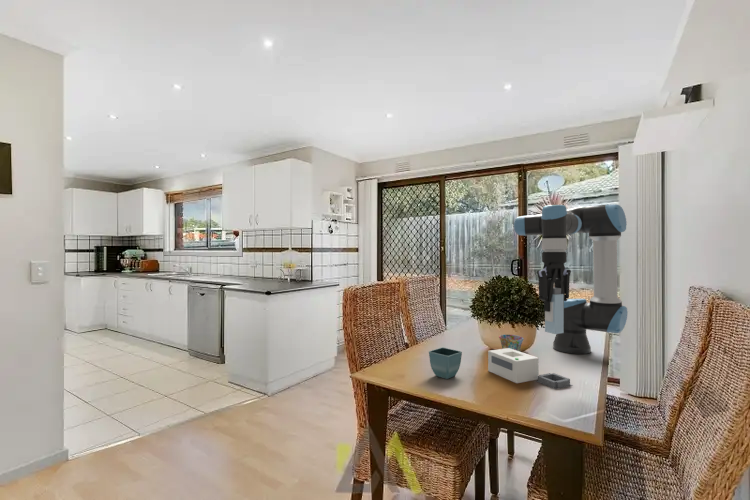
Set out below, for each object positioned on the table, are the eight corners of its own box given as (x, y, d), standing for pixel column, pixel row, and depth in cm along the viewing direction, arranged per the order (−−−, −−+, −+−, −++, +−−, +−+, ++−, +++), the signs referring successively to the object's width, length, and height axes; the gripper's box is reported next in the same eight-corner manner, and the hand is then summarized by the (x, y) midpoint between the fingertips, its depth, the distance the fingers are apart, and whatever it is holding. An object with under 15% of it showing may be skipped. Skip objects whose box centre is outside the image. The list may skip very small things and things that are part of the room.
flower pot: (442, 370, 139) (442, 346, 139) (462, 376, 133) (462, 351, 133) (428, 376, 133) (428, 351, 133) (448, 382, 126) (448, 356, 126)
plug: (553, 330, 127) (553, 287, 127) (563, 332, 123) (563, 288, 123) (544, 331, 125) (544, 287, 125) (554, 334, 122) (554, 288, 121)
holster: (552, 379, 129) (552, 372, 129) (572, 387, 122) (572, 379, 122) (535, 382, 126) (535, 375, 126) (555, 390, 119) (555, 383, 119)
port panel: (508, 368, 141) (508, 346, 141) (538, 380, 128) (538, 356, 128) (487, 372, 137) (487, 349, 137) (516, 385, 124) (516, 360, 124)
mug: (528, 366, 144) (528, 339, 144) (507, 368, 142) (507, 340, 142) (510, 357, 156) (510, 332, 156) (491, 358, 154) (491, 333, 154)
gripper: (562, 250, 131) (562, 316, 131) (526, 251, 124) (526, 320, 124) (581, 251, 124) (581, 320, 124) (544, 251, 117) (545, 324, 117)
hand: (554, 320), depth 124 cm, fingers closed on plug, 4 cm apart
